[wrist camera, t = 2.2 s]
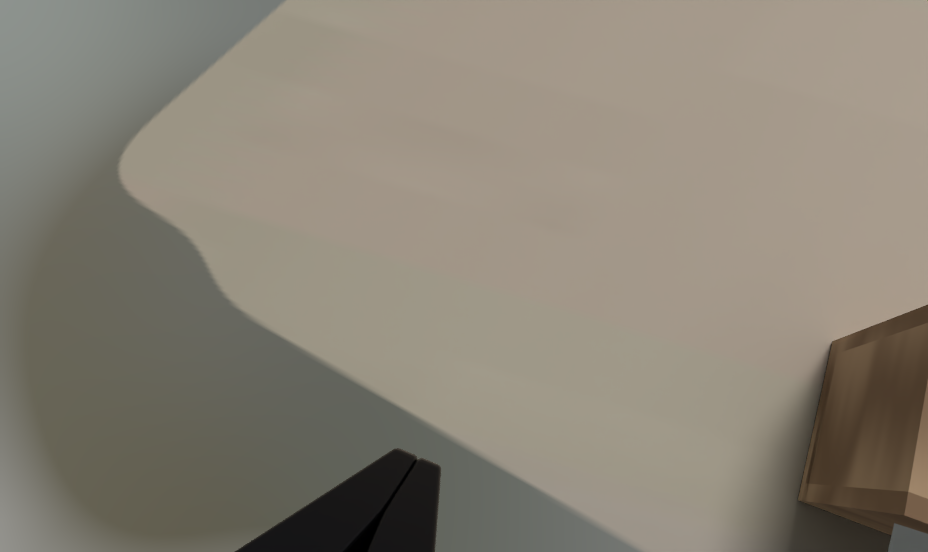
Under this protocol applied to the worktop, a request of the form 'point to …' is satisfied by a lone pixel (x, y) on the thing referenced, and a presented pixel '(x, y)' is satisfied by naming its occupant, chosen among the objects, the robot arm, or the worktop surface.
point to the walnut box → (874, 427)
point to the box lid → (907, 540)
